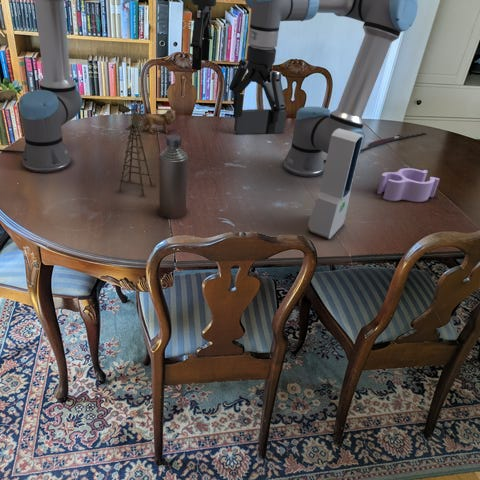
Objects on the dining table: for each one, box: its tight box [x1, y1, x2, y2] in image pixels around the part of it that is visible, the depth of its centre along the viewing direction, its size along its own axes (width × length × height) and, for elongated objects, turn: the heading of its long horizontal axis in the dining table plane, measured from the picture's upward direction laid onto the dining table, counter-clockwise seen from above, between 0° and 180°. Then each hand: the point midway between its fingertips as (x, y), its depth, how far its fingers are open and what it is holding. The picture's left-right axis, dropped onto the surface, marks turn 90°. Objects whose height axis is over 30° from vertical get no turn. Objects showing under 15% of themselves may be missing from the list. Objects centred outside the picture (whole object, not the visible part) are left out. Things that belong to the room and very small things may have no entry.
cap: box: [166, 134, 182, 148], centre depth 128 cm, size 4×4×2 cm
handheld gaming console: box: [233, 108, 287, 135], centre depth 202 cm, size 23×3×10 cm, turn 108°
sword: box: [368, 134, 409, 147], centre depth 212 cm, size 31×3×1 cm, turn 126°
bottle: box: [158, 146, 189, 219], centre depth 134 cm, size 8×8×23 cm
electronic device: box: [307, 128, 364, 240], centre depth 132 cm, size 12×8×30 cm, turn 148°
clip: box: [376, 167, 440, 203], centre depth 164 cm, size 20×12×7 cm, turn 109°
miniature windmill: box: [118, 95, 154, 197], centre depth 142 cm, size 9×8×30 cm
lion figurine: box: [142, 109, 176, 134], centre depth 192 cm, size 15×5×9 cm, turn 110°
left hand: (200, 65), depth 149 cm, fingers open, 13 cm apart
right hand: (253, 124), depth 133 cm, fingers open, 13 cm apart
